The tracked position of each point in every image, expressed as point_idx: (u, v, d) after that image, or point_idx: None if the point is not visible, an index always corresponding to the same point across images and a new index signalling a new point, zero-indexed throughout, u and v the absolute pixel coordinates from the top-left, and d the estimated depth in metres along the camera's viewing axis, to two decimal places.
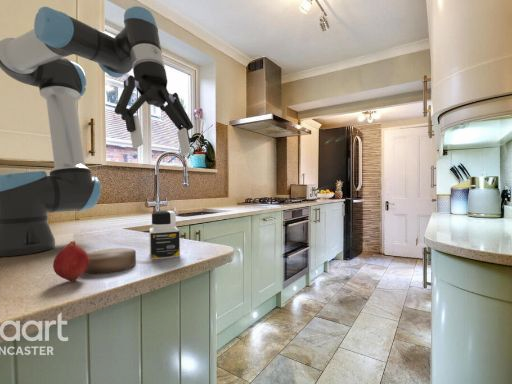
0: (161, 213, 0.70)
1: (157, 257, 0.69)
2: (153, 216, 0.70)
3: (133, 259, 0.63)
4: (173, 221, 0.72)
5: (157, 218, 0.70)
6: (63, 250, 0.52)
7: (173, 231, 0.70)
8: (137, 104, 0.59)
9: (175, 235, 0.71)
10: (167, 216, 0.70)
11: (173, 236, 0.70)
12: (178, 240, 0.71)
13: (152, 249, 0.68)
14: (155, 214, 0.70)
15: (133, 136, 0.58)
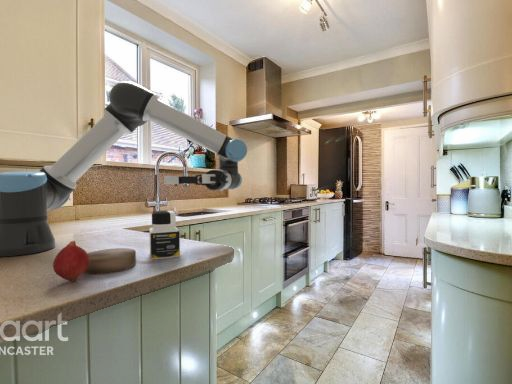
0: (161, 213, 0.70)
1: (157, 257, 0.69)
2: (153, 216, 0.70)
3: (133, 259, 0.63)
4: (173, 221, 0.72)
5: (157, 218, 0.70)
6: (63, 250, 0.52)
7: (173, 231, 0.70)
8: None
9: (175, 235, 0.71)
10: (167, 216, 0.70)
11: (173, 236, 0.70)
12: (178, 240, 0.71)
13: (152, 249, 0.68)
14: (155, 214, 0.70)
15: (208, 176, 0.81)
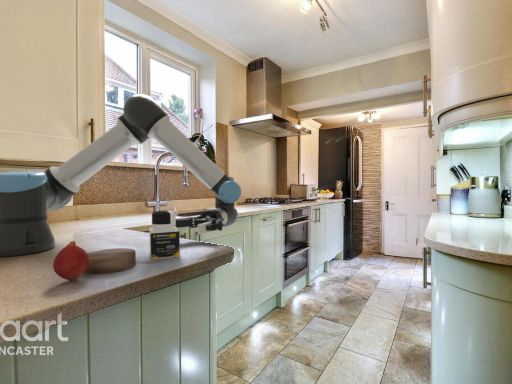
0: (161, 213, 0.70)
1: (157, 257, 0.69)
2: (153, 216, 0.70)
3: (133, 259, 0.63)
4: (173, 221, 0.72)
5: (157, 218, 0.70)
6: (63, 250, 0.52)
7: (173, 231, 0.70)
8: None
9: (175, 235, 0.71)
10: (167, 216, 0.70)
11: (173, 236, 0.70)
12: (178, 240, 0.71)
13: (152, 249, 0.68)
14: (155, 214, 0.70)
15: (204, 226, 0.77)
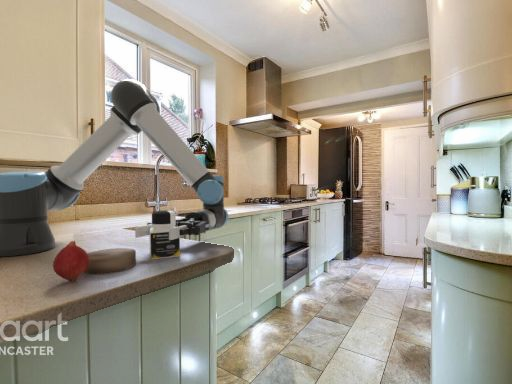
0: (161, 213, 0.70)
1: (157, 257, 0.69)
2: (153, 216, 0.70)
3: (133, 259, 0.63)
4: (173, 221, 0.72)
5: (157, 218, 0.70)
6: (63, 250, 0.52)
7: None
8: None
9: None
10: (167, 216, 0.70)
11: None
12: (178, 240, 0.71)
13: (152, 249, 0.68)
14: (155, 214, 0.70)
15: (177, 230, 0.69)
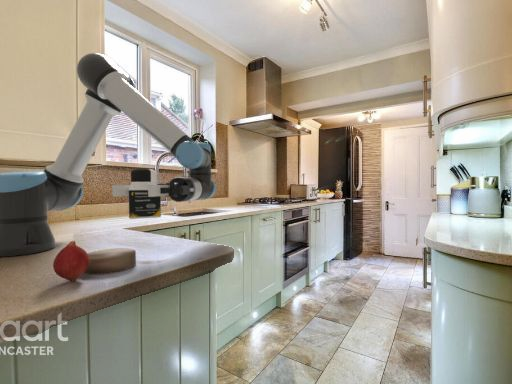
0: (140, 170, 0.65)
1: (136, 216, 0.64)
2: (132, 173, 0.66)
3: (133, 259, 0.63)
4: (154, 179, 0.67)
5: (136, 175, 0.65)
6: (63, 250, 0.52)
7: None
8: None
9: None
10: (147, 173, 0.65)
11: None
12: (159, 199, 0.66)
13: (130, 207, 0.64)
14: (134, 171, 0.65)
15: (157, 187, 0.64)
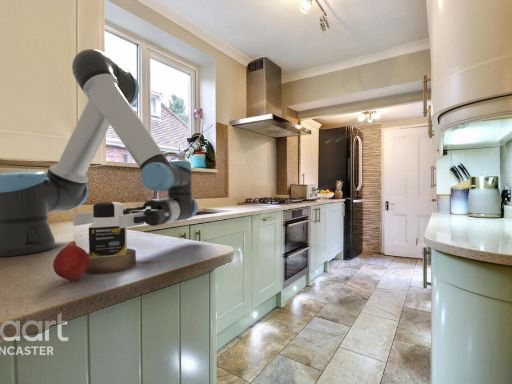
0: (103, 204, 0.60)
1: (97, 255, 0.59)
2: (94, 208, 0.61)
3: (133, 259, 0.63)
4: (118, 214, 0.62)
5: (98, 211, 0.60)
6: (63, 250, 0.52)
7: (117, 225, 0.61)
8: None
9: (120, 230, 0.61)
10: (110, 208, 0.60)
11: (117, 232, 0.60)
12: (123, 236, 0.61)
13: (90, 246, 0.58)
14: (96, 205, 0.60)
15: (130, 217, 0.59)
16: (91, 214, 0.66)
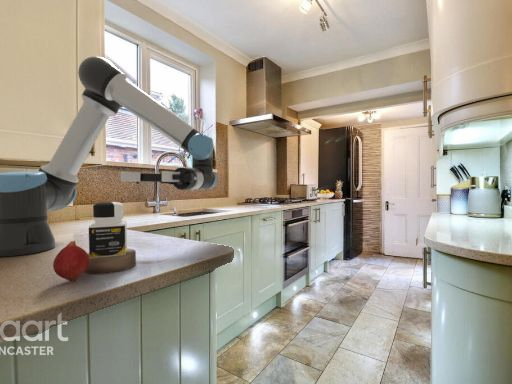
0: (103, 204, 0.60)
1: (97, 255, 0.59)
2: (94, 208, 0.61)
3: (133, 259, 0.63)
4: (118, 214, 0.62)
5: (98, 211, 0.60)
6: (63, 250, 0.52)
7: (117, 225, 0.60)
8: None
9: (120, 230, 0.61)
10: (110, 208, 0.60)
11: (117, 232, 0.60)
12: (123, 236, 0.61)
13: (90, 246, 0.58)
14: (96, 205, 0.60)
15: (169, 174, 0.72)
16: (134, 174, 0.78)
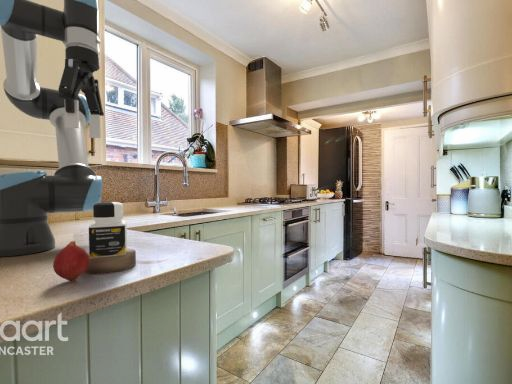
0: (103, 204, 0.60)
1: (97, 255, 0.59)
2: (94, 208, 0.61)
3: (133, 259, 0.63)
4: (118, 214, 0.62)
5: (98, 211, 0.60)
6: (63, 250, 0.52)
7: (117, 225, 0.61)
8: (78, 89, 0.65)
9: (120, 230, 0.61)
10: (110, 208, 0.60)
11: (117, 232, 0.60)
12: (123, 236, 0.61)
13: (90, 246, 0.58)
14: (96, 205, 0.60)
15: (68, 117, 0.64)
16: (91, 123, 0.78)
